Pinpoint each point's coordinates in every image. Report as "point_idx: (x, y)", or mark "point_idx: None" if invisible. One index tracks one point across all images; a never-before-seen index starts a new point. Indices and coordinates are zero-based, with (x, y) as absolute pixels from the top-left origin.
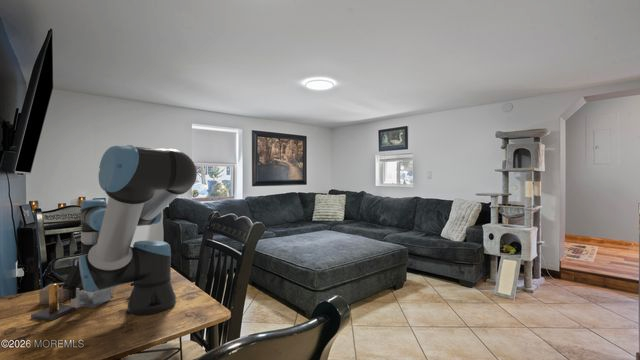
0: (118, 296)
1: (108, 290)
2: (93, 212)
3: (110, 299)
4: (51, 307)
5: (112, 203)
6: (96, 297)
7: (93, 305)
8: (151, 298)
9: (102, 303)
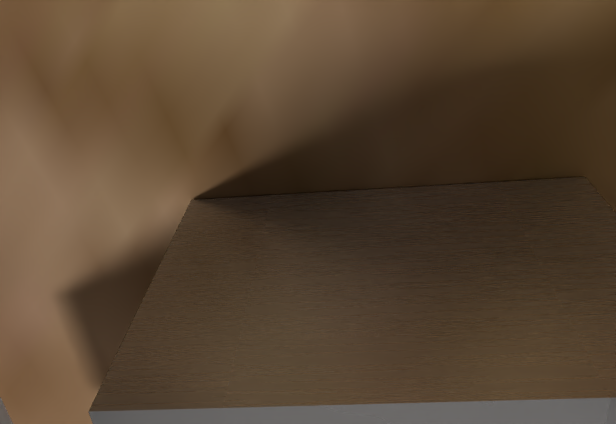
0: (27, 203)
1: (202, 339)
2: None
3: (200, 202)
4: None
5: None
6: (577, 291)
7: (594, 201)
8: None
9: (377, 192)
